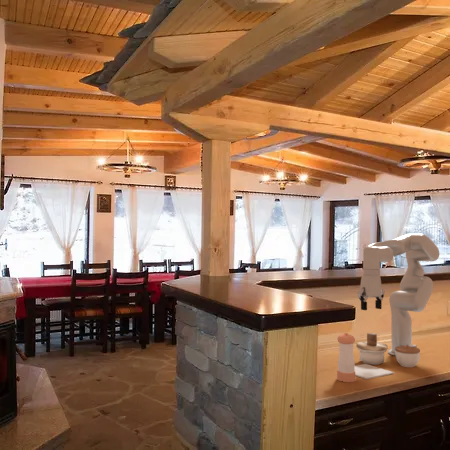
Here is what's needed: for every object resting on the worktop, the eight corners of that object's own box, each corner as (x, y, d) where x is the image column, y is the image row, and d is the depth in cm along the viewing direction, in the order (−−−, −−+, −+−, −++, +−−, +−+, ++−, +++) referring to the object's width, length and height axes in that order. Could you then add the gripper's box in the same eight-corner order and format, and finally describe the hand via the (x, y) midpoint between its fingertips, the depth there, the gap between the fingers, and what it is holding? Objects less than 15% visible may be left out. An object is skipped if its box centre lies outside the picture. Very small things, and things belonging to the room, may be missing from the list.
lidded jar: (408, 369, 216) (408, 348, 216) (390, 364, 225) (389, 343, 225) (425, 366, 221) (425, 346, 221) (406, 361, 230) (406, 341, 230)
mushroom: (370, 357, 237) (370, 343, 237) (392, 363, 226) (392, 348, 226) (351, 361, 230) (351, 346, 230) (373, 367, 219) (373, 351, 219)
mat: (365, 365, 223) (365, 363, 223) (394, 373, 209) (394, 372, 209) (338, 370, 214) (338, 368, 214) (366, 379, 200) (366, 378, 200)
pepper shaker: (341, 376, 205) (341, 330, 205) (357, 379, 201) (357, 332, 201) (334, 380, 199) (334, 333, 199) (351, 383, 195) (351, 335, 195)
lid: (370, 342, 238) (370, 330, 238) (394, 348, 226) (394, 335, 226) (350, 346, 230) (350, 333, 231) (373, 352, 218) (373, 338, 219)
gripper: (377, 272, 237) (377, 307, 236) (352, 272, 228) (352, 309, 227) (390, 273, 230) (390, 309, 230) (364, 273, 221) (364, 311, 221)
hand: (371, 309), depth 229 cm, fingers open, 9 cm apart
